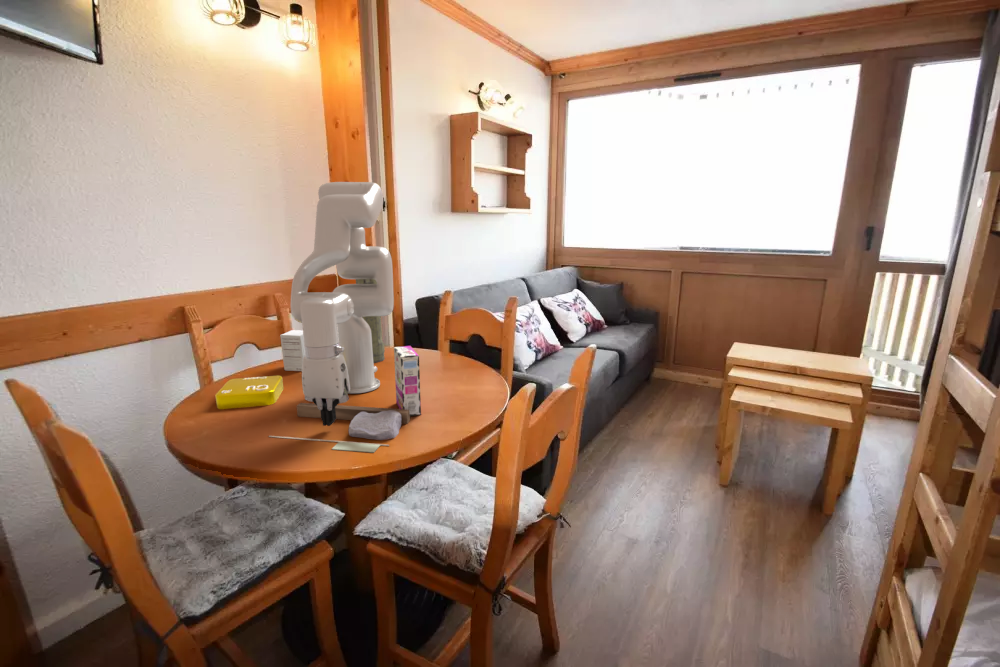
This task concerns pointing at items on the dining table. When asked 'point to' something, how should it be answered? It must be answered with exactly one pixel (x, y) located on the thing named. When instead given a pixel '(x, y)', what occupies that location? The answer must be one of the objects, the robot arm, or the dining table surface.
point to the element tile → (249, 392)
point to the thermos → (374, 329)
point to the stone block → (376, 425)
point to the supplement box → (293, 350)
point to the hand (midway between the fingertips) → (329, 423)
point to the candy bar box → (407, 379)
